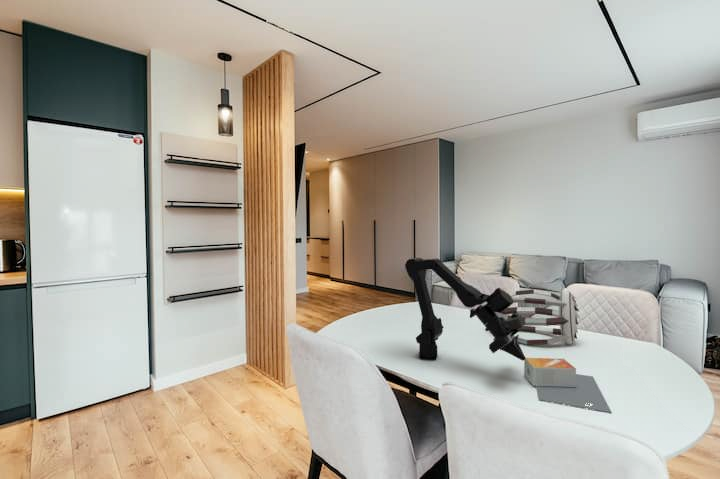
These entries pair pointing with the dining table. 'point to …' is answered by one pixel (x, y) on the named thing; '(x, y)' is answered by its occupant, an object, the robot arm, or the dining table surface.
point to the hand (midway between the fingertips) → (524, 359)
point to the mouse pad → (576, 394)
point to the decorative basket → (565, 318)
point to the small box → (549, 372)
